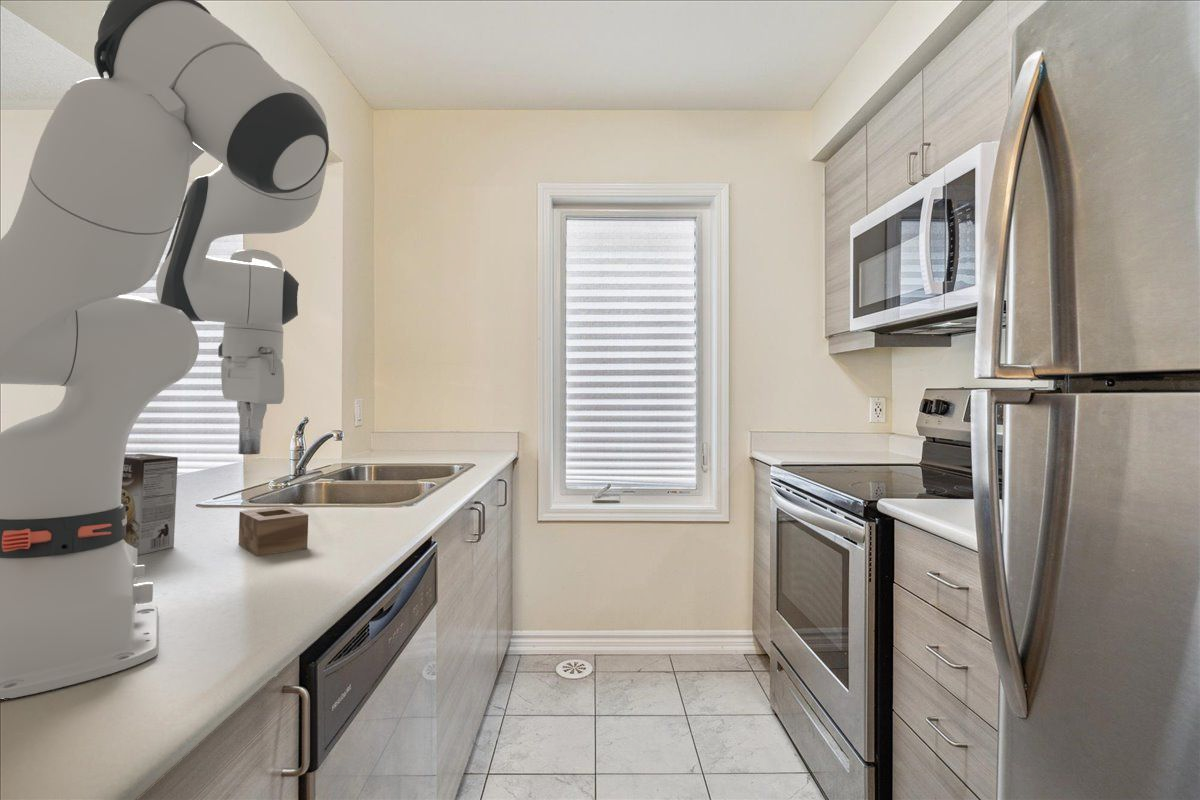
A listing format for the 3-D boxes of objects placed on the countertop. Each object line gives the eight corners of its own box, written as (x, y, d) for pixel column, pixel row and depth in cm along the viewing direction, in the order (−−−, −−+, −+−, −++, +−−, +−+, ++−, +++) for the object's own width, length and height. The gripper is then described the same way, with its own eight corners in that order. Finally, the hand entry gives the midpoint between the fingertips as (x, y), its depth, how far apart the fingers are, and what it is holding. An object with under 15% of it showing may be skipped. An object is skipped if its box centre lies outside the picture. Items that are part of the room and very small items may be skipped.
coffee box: (99, 550, 98) (101, 455, 98) (139, 541, 104) (141, 452, 104) (137, 556, 95) (140, 458, 95) (176, 546, 102) (179, 455, 101)
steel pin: (262, 453, 99) (265, 395, 99) (241, 454, 97) (244, 395, 96) (256, 452, 101) (258, 395, 101) (235, 452, 99) (238, 394, 99)
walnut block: (307, 547, 104) (308, 514, 104) (258, 555, 98) (259, 520, 98) (285, 537, 110) (286, 506, 110) (238, 544, 104) (239, 511, 104)
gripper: (296, 348, 94) (293, 432, 94) (254, 350, 108) (251, 424, 108) (253, 344, 89) (250, 433, 90) (215, 347, 103) (212, 424, 103)
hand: (250, 428), depth 99 cm, fingers closed on steel pin, 3 cm apart
